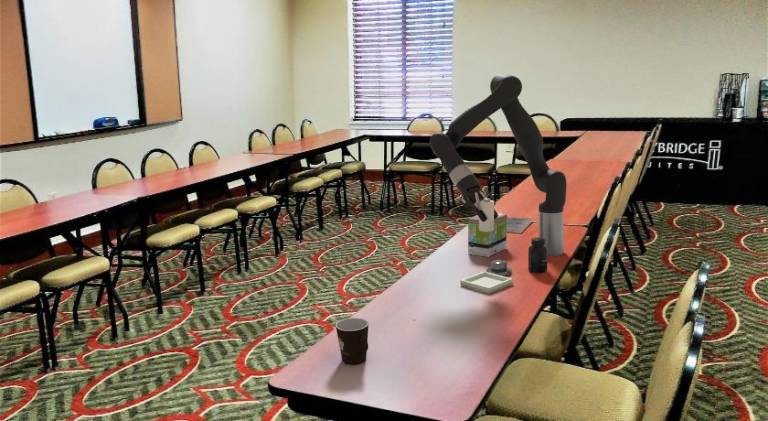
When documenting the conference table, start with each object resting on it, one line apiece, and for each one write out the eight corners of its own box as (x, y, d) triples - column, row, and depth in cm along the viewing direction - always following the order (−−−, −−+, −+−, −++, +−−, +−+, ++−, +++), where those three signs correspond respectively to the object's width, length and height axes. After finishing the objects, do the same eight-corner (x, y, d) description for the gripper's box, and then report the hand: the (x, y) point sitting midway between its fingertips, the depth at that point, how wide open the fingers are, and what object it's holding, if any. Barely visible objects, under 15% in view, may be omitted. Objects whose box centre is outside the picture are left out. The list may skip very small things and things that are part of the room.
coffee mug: (337, 354, 175) (335, 319, 173) (369, 351, 176) (367, 316, 174) (338, 373, 164) (335, 336, 162) (372, 371, 164) (370, 334, 162)
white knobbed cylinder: (485, 227, 226) (485, 197, 224) (496, 229, 223) (497, 198, 220) (476, 230, 223) (476, 199, 221) (487, 232, 219) (487, 201, 217)
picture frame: (498, 220, 314) (485, 231, 295) (498, 215, 314) (484, 226, 295) (532, 223, 307) (520, 234, 288) (532, 217, 306) (520, 229, 288)
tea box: (489, 257, 254) (489, 221, 251) (467, 254, 260) (466, 218, 257) (507, 248, 266) (507, 213, 263) (485, 245, 272) (485, 210, 269)
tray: (484, 276, 232) (484, 271, 232) (512, 284, 223) (512, 278, 222) (460, 285, 224) (460, 280, 224) (489, 293, 215) (488, 288, 214)
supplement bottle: (547, 274, 232) (548, 241, 229) (528, 273, 233) (528, 241, 231) (547, 268, 238) (547, 236, 236) (528, 267, 240) (528, 236, 237)
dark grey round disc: (497, 267, 242) (496, 257, 241) (516, 272, 235) (516, 261, 234) (481, 273, 236) (481, 262, 235) (501, 278, 229) (500, 267, 228)
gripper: (456, 176, 220) (482, 216, 213) (484, 171, 229) (510, 209, 222) (444, 189, 225) (470, 229, 218) (472, 184, 234) (498, 221, 228)
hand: (490, 218), depth 220 cm, fingers closed on white knobbed cylinder, 5 cm apart
